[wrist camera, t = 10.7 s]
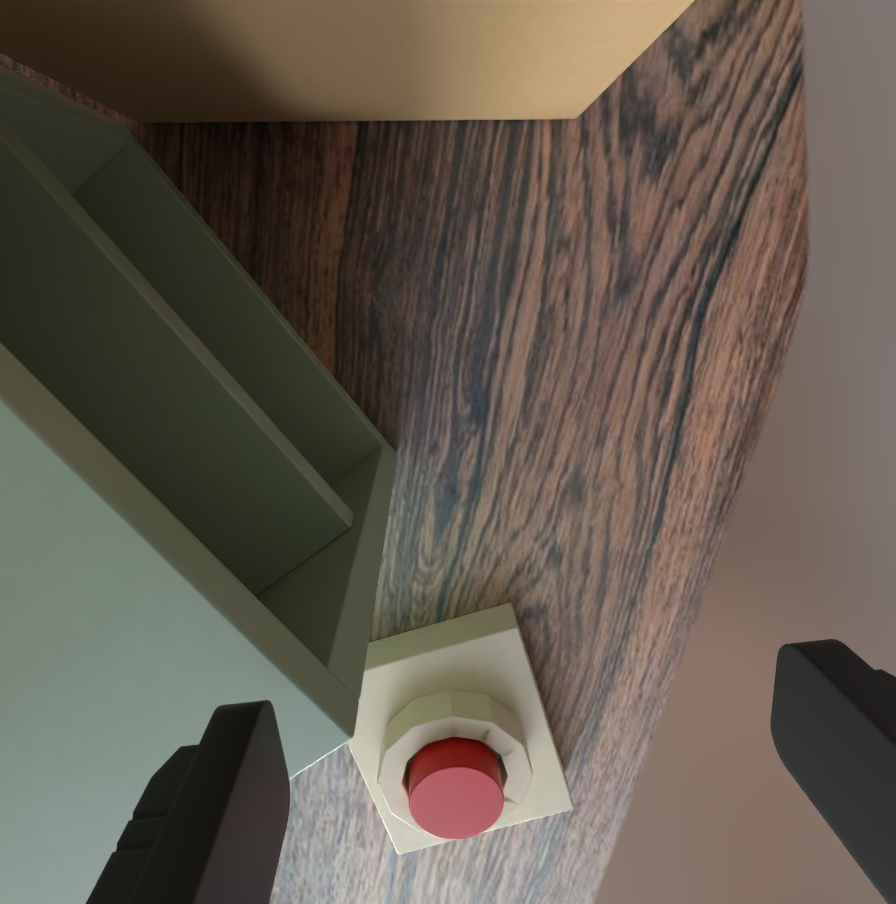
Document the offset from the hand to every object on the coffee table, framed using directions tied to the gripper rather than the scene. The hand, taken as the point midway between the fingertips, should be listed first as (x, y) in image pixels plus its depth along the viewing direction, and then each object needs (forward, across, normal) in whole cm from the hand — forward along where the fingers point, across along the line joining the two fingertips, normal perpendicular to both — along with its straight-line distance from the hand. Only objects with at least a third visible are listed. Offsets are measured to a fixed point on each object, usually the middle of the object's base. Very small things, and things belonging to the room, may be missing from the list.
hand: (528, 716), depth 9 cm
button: (+15, +2, +17) cm, 22 cm away
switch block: (+18, +2, +16) cm, 25 cm away
